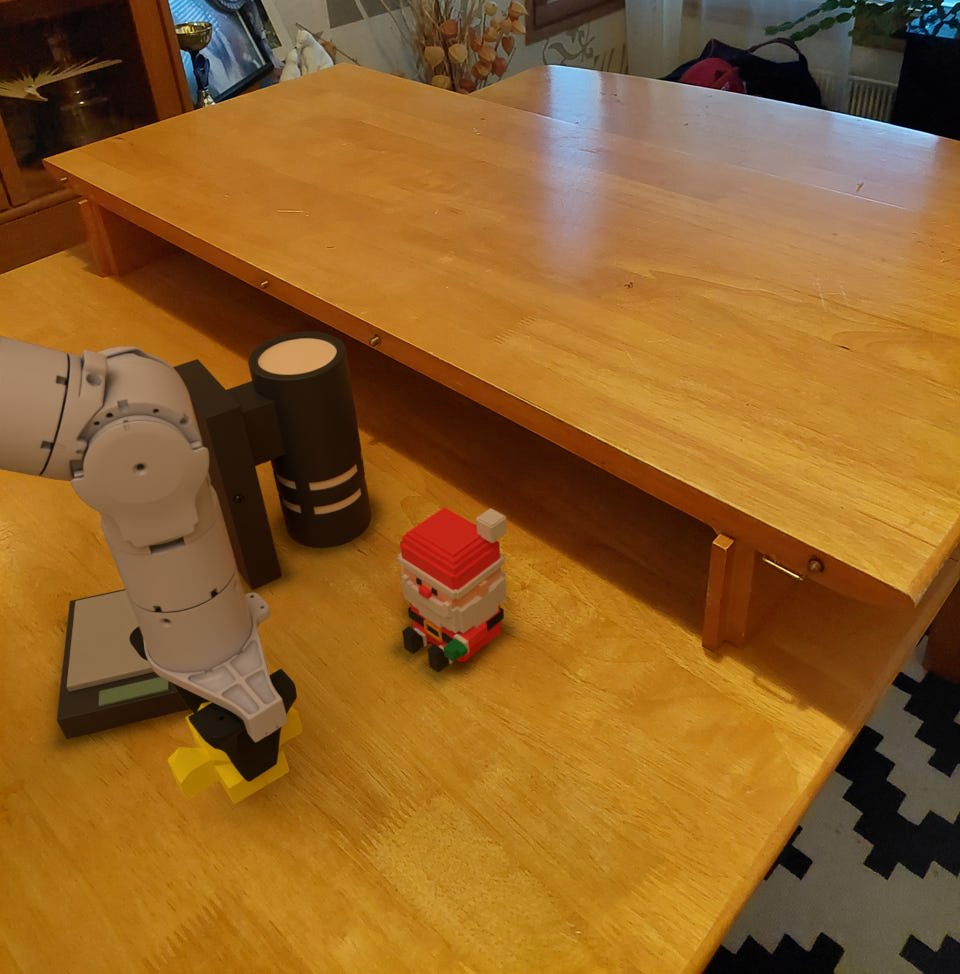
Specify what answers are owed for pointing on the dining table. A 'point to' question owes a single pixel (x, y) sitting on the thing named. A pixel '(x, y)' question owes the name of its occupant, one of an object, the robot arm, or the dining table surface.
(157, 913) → the dining table surface
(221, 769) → the yellow angular block
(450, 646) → the figurine
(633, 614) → the dining table surface
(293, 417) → the light fixture
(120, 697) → the scale
